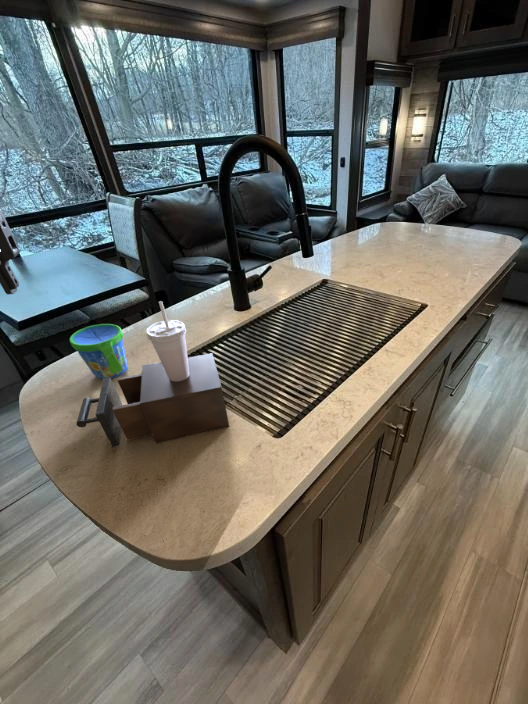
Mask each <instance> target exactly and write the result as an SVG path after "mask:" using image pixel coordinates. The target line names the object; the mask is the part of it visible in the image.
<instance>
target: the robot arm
mask: <svg viewBox="0 0 528 704" xmlns="http://www.w3.org/2000/svg"><path fill="white" fill-rule="evenodd" d="M20 251H21V250H20V248H19V246H18V243H17V242H16V240H15V237H14V234H13V232H12V229H11V228H10V226H9V223H8V221H7V219H6V217H5V215H4V212H3V209H2V208H1V207H0V286H1V287H2V289H3V292H4V293H5V294H6V295H15V293H16V292H18V287H19V286H20V282H19V279H18V278H17V276H16V275H15V272H14V271H13V269H12V266H11V265H10V262H9V261H11V260H13V259H15V258H16V257H17V256H18V255H20Z"/></svg>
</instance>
